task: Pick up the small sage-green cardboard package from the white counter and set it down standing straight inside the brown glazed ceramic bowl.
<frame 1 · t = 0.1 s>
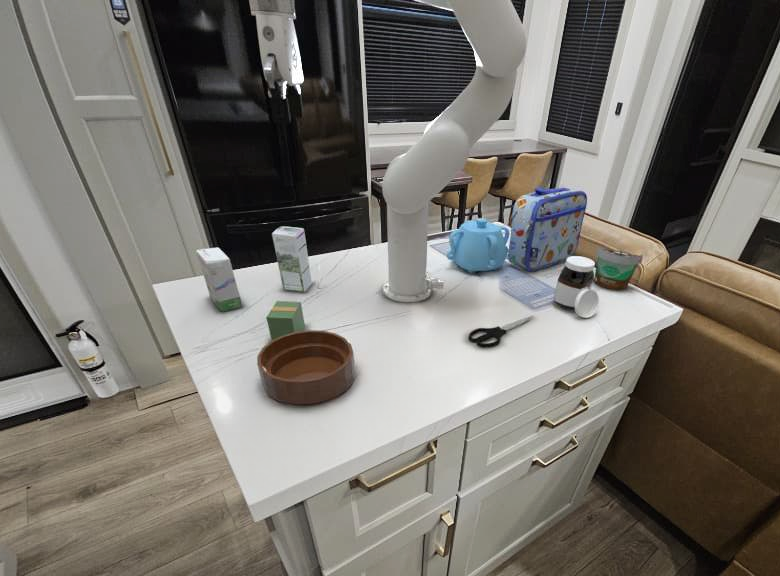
hand: (289, 119, 84), 37 cm above the worktop, tool pointing down, fingers open, 9 cm apart
spread jar: (574, 308, 107), on the worktop
syrup box: (298, 287, 107), on the worktop
scissors: (504, 330, 95), on the worktop
food container: (609, 287, 119), on the worktop
decorative pot: (476, 266, 125), on the worktop
bowl: (310, 378, 77), on the worktop
package: (289, 334, 89), on the worktop
ink box: (226, 303, 98), on the worktop
lunch box: (540, 263, 130), on the worktop
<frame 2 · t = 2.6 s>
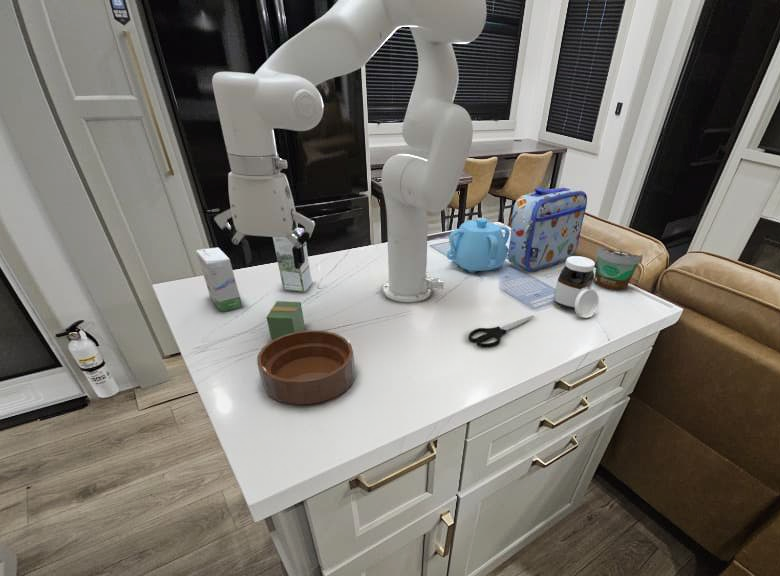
hand: (273, 264, 79), 15 cm above the worktop, tool pointing down, fingers open, 9 cm apart
nothing on the worktop moved.
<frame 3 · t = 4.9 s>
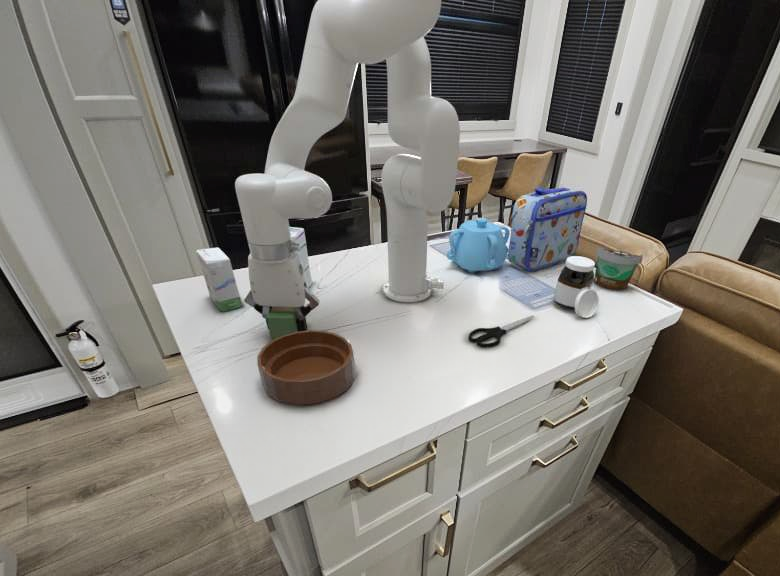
hand: (288, 331, 88), 1 cm above the worktop, tool pointing down, fingers closed on package, 5 cm apart
package: (289, 334, 89), on the worktop, touching gripper
everything else where it was.
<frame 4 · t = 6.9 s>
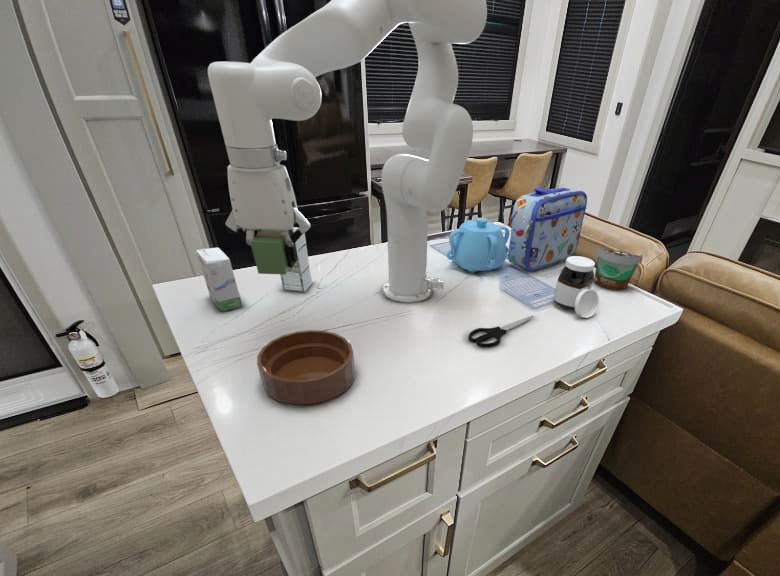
hand: (277, 263, 79), 16 cm above the worktop, tool pointing down, fingers closed on package, 5 cm apart
package: (277, 266, 79), point 15 cm above the worktop, touching gripper
everything else where it was.
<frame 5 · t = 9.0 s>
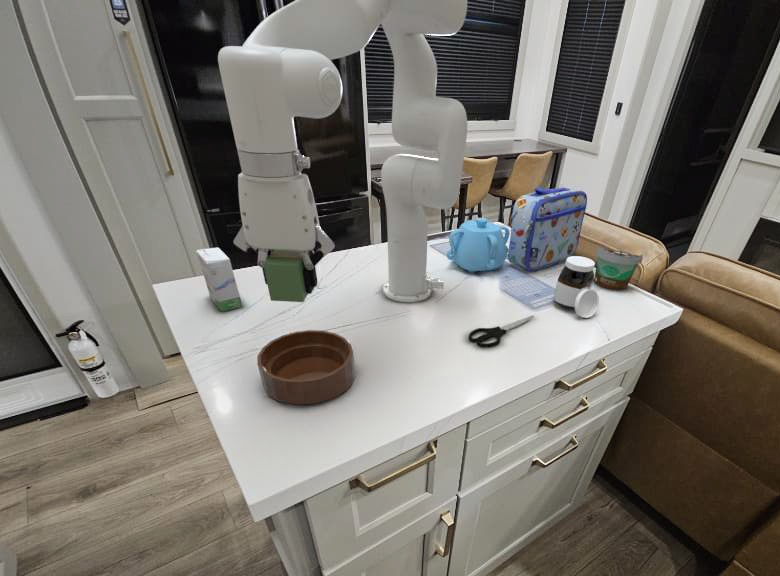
hand: (292, 288, 67), 18 cm above the worktop, tool pointing down, fingers closed on package, 5 cm apart
package: (293, 291, 67), point 17 cm above the worktop, touching gripper
everything else where it was.
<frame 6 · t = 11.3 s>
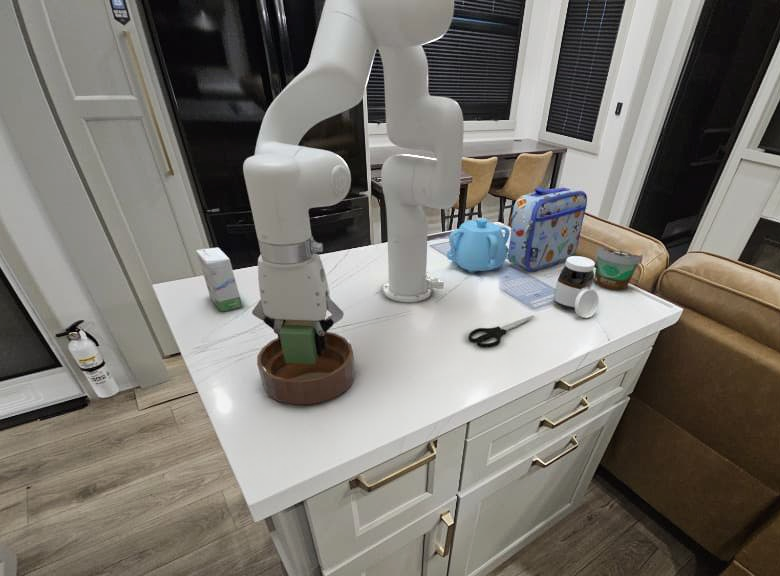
hand: (304, 349, 73), 6 cm above the worktop, tool pointing down, fingers closed on package, 5 cm apart
package: (305, 352, 74), point 6 cm above the worktop, touching gripper
everything else where it was.
when the fingers open (1 cm above the worktop, at t = 13.1 s): package stays where it is, resting on bowl.
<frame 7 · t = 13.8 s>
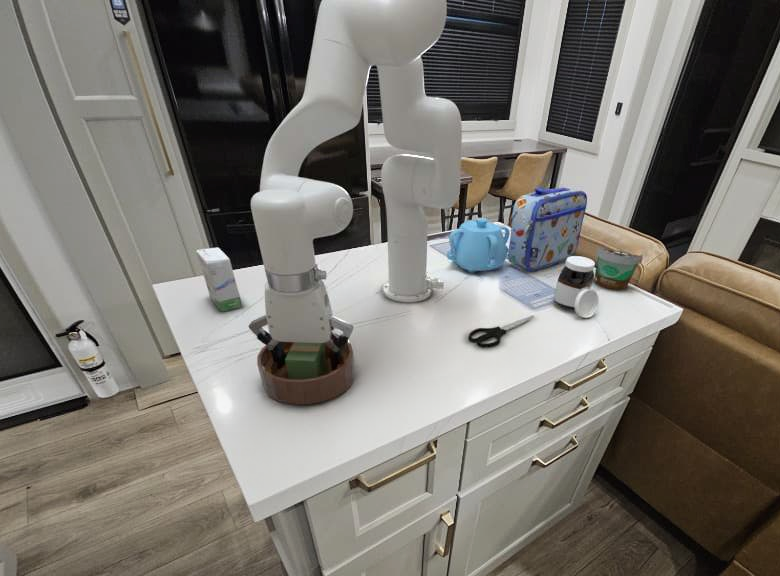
hand: (308, 365, 76), 3 cm above the worktop, tool pointing down, fingers open, 9 cm apart
package: (309, 375, 77), point 1 cm above the worktop, touching bowl
everything else where it was.
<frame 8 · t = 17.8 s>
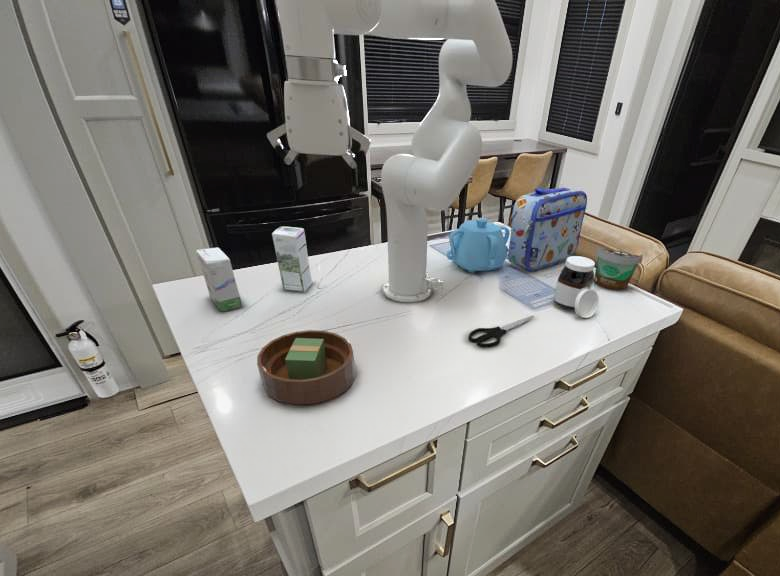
hand: (325, 189, 76), 28 cm above the worktop, tool pointing down, fingers open, 9 cm apart
nothing on the worktop moved.
at the end: package inside the target area in the bowl (0.1 cm from its centre), point 0.6 cm above the bowl's base; package tilted 0°; the gripper is holding nothing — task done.
